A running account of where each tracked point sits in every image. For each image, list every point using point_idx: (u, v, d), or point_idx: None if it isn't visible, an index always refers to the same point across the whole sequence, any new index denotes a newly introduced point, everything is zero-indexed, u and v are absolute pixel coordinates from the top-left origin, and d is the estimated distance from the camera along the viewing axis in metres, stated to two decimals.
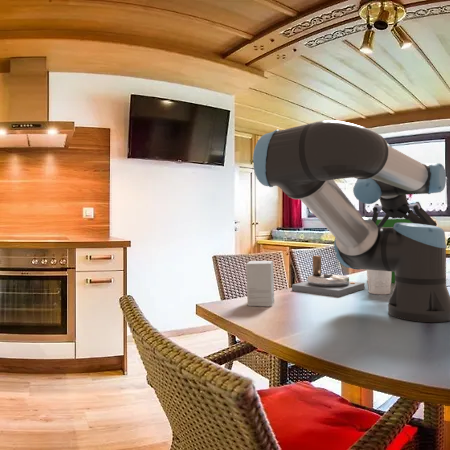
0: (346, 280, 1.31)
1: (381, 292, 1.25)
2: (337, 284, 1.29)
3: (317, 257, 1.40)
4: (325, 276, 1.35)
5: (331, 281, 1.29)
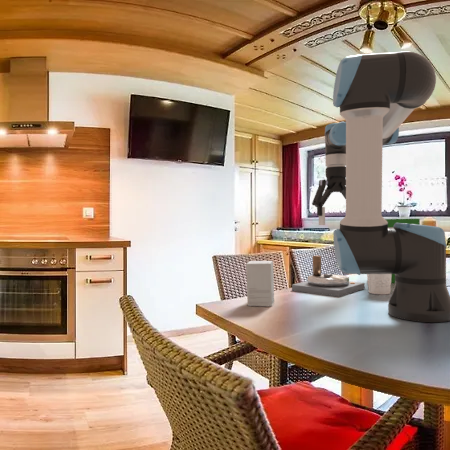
0: (346, 280, 1.31)
1: (381, 292, 1.25)
2: (337, 284, 1.29)
3: (317, 257, 1.40)
4: (325, 276, 1.35)
5: (331, 281, 1.29)
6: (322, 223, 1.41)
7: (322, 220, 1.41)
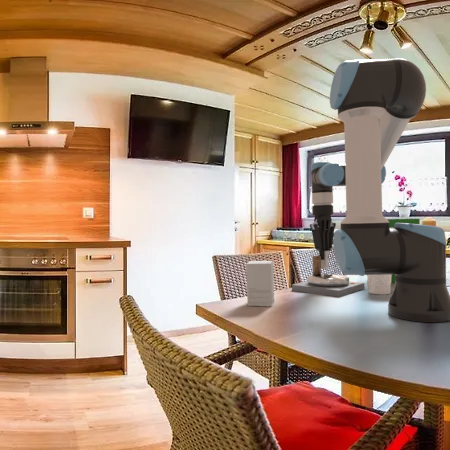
0: (346, 280, 1.31)
1: (381, 292, 1.25)
2: (337, 284, 1.29)
3: (317, 257, 1.40)
4: (325, 276, 1.35)
5: (331, 281, 1.29)
6: (324, 267, 1.43)
7: (324, 264, 1.43)
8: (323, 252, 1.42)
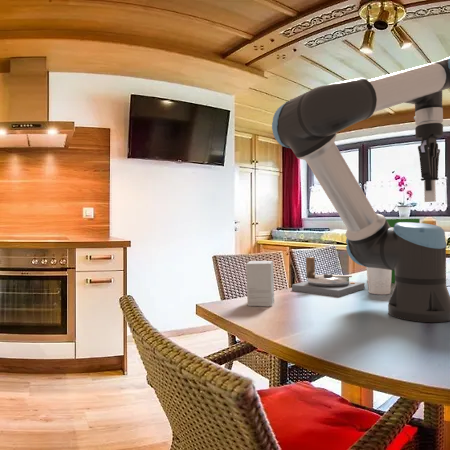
0: None
1: (381, 292, 1.25)
2: None
3: (314, 258, 1.36)
4: (329, 276, 1.35)
5: (347, 279, 1.32)
6: (432, 199, 1.19)
7: (432, 196, 1.19)
8: (431, 181, 1.18)
